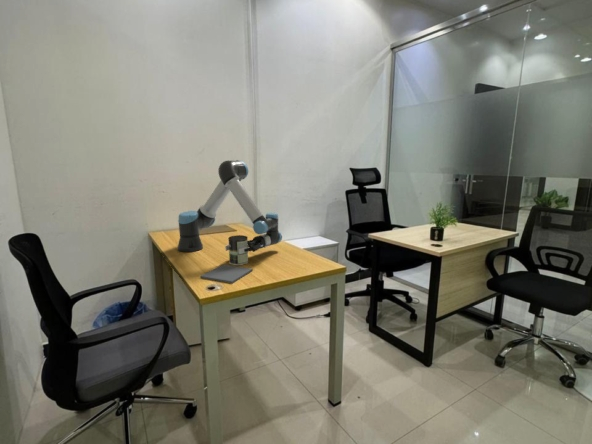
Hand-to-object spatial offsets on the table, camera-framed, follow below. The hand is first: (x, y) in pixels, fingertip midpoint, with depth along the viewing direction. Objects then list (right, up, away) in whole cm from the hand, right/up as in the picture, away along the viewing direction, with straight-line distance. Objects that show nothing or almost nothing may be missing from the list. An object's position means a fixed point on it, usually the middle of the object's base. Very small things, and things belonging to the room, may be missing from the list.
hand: (232, 249), depth 167 cm
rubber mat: (0, -11, -13) cm, 17 cm away
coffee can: (+3, -7, +5) cm, 9 cm away
